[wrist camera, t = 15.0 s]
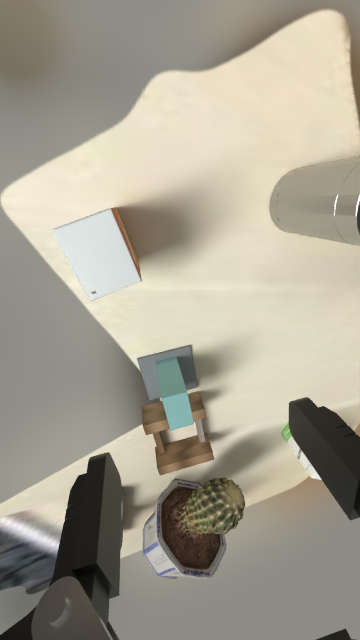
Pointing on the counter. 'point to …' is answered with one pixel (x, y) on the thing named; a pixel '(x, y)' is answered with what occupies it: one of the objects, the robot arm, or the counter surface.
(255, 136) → the counter surface
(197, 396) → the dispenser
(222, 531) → the potted plant
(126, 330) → the counter surface
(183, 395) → the teal box
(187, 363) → the mat
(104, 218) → the small box
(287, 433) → the ink box
